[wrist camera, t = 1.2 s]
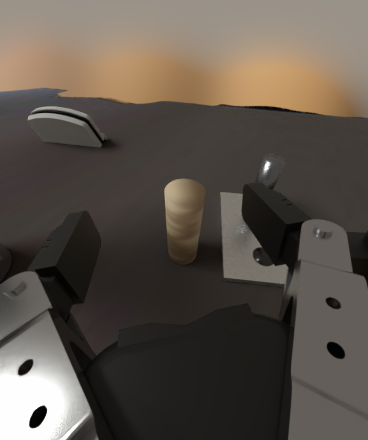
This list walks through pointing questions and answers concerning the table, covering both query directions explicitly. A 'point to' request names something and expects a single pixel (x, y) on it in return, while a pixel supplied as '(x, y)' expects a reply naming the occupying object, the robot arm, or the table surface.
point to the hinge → (65, 127)
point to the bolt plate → (248, 236)
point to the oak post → (183, 219)
